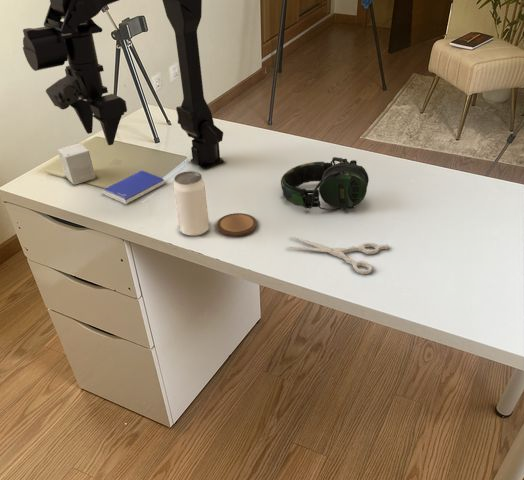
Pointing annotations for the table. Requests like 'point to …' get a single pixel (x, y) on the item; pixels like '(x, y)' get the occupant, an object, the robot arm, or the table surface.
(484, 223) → the table surface
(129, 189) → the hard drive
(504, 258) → the table surface
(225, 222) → the coaster
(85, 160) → the product box
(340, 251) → the scissors
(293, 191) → the headphones
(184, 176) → the can
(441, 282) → the table surface
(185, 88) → the robot arm
